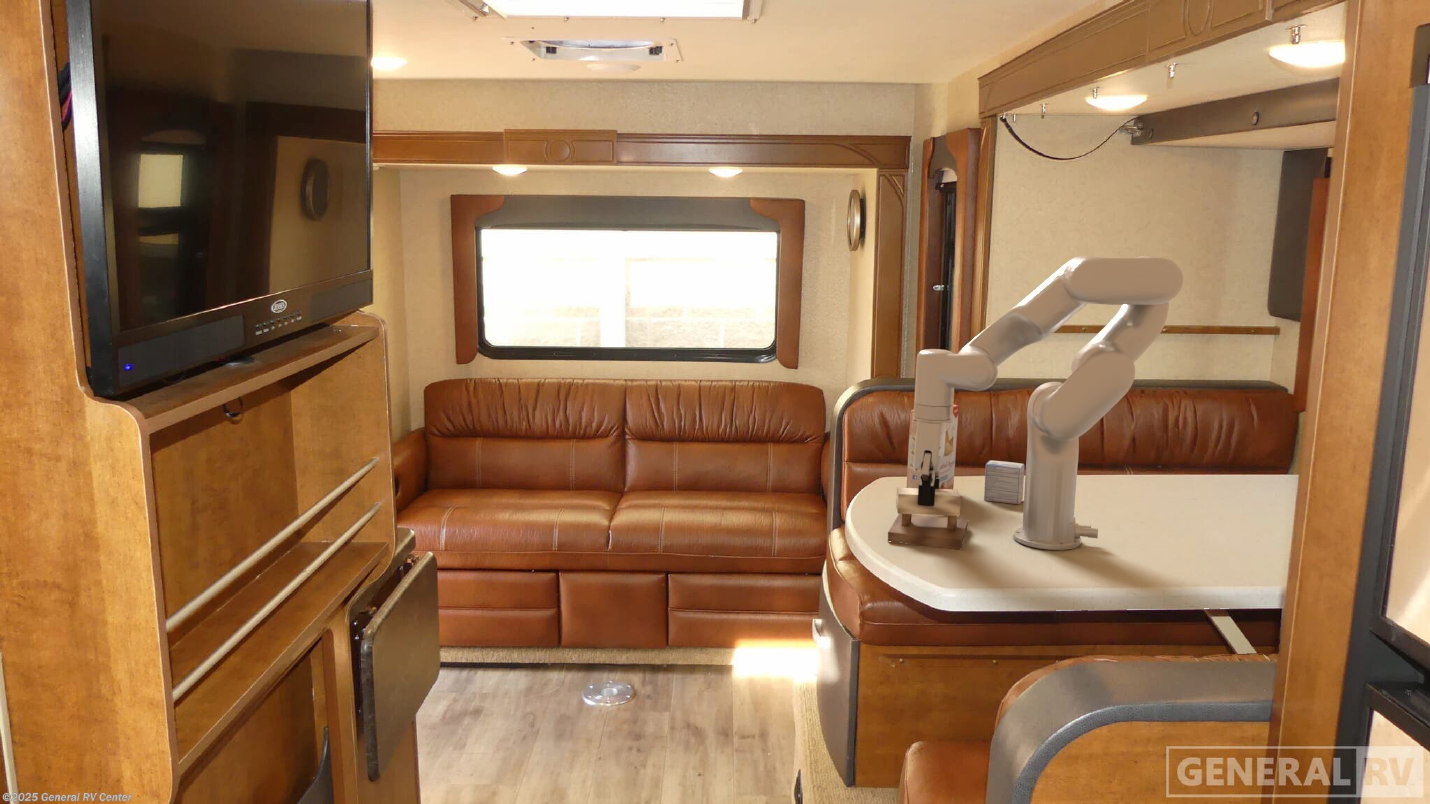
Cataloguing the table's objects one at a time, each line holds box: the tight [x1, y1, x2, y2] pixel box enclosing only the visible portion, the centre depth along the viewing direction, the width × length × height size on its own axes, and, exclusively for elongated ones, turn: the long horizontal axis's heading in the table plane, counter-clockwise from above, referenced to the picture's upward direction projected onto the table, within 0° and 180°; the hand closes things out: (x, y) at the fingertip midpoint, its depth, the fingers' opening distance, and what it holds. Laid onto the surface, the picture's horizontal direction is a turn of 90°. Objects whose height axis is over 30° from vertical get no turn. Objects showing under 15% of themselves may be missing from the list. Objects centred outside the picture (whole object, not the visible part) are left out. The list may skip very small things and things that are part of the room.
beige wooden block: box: [895, 487, 961, 517], centre depth 202 cm, size 12×5×4 cm, turn 83°
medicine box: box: [983, 460, 1025, 505], centre depth 229 cm, size 8×4×9 cm, turn 63°
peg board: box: [887, 514, 969, 550], centre depth 203 cm, size 14×14×5 cm
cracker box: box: [906, 403, 960, 490], centre depth 231 cm, size 14×6×21 cm, turn 143°
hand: (928, 500), depth 202 cm, fingers closed on beige wooden block, 5 cm apart
